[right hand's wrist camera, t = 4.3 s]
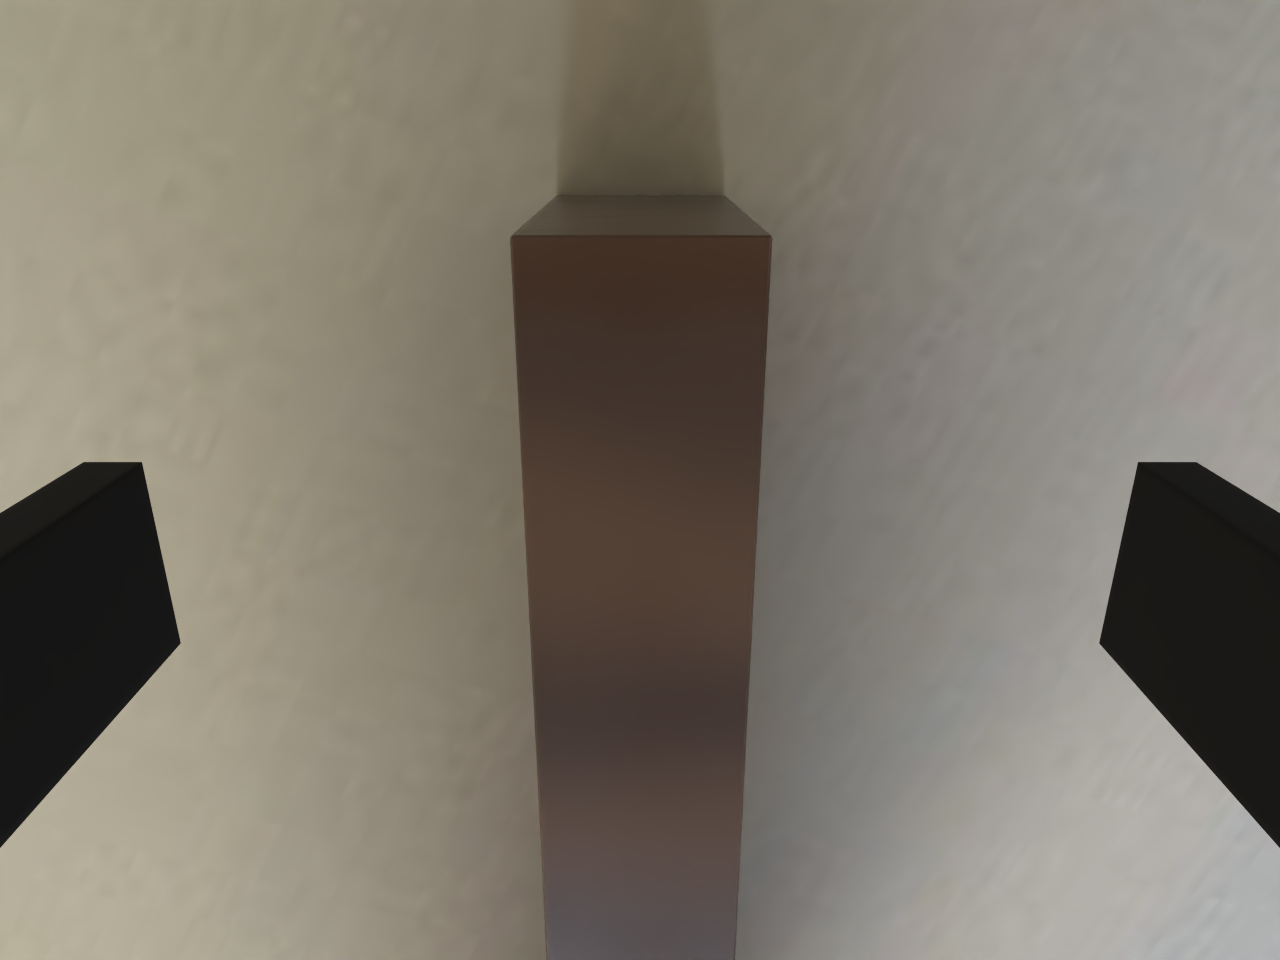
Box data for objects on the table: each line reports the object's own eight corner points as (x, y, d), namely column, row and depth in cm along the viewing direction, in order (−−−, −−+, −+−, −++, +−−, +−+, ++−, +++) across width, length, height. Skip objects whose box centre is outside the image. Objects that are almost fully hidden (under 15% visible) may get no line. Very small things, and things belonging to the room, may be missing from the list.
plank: (555, 195, 27) (509, 235, 17) (726, 195, 27) (772, 235, 17) (582, 1023, 39) (564, 1305, 30) (698, 1023, 39) (717, 1305, 30)
